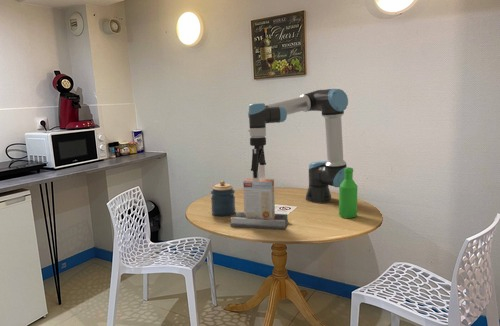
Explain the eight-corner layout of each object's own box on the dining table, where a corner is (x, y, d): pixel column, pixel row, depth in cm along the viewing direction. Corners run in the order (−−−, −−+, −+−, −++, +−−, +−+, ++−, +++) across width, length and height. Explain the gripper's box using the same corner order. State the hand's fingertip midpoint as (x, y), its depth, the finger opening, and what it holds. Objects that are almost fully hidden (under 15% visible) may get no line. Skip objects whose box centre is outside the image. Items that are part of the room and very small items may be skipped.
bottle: (347, 219, 170) (348, 170, 166) (335, 215, 178) (336, 167, 173) (360, 216, 174) (361, 168, 170) (348, 212, 182) (349, 165, 177)
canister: (207, 215, 183) (205, 182, 180) (217, 208, 195) (216, 177, 192) (229, 217, 178) (228, 184, 175) (239, 210, 190) (238, 179, 187)
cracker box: (275, 220, 169) (274, 179, 165) (272, 224, 163) (271, 181, 159) (247, 218, 173) (246, 177, 169) (244, 222, 167) (243, 180, 163)
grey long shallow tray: (287, 221, 170) (287, 213, 170) (284, 229, 159) (284, 221, 158) (237, 218, 176) (237, 210, 176) (230, 226, 165) (230, 218, 164)
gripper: (255, 134, 173) (257, 175, 177) (243, 139, 149) (245, 187, 153) (270, 134, 171) (271, 175, 175) (260, 139, 148) (261, 187, 151)
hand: (259, 181), depth 164 cm, fingers open, 13 cm apart
